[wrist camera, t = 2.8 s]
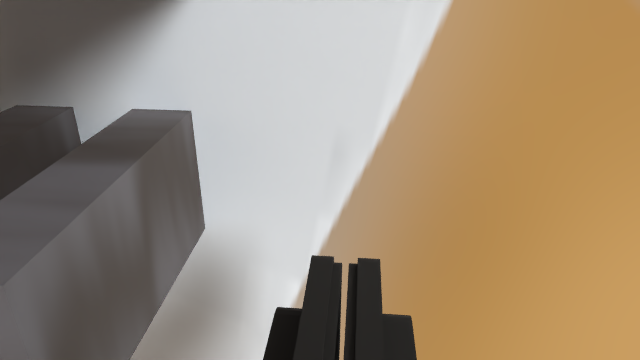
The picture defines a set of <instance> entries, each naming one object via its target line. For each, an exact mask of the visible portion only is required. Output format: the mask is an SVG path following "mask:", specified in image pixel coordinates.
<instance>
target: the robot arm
mask: <svg viewBox="0 0 640 360" xmlns="http://www.w3.org/2000/svg"><path fill="white" fill-rule="evenodd" d="M341 282H342V263H334V257H330V256H313V255H312V257H311V263H310V268H309V274H308V279H307V285H306V290H305V296H304V302H303V307H302V309H299V308H283V307H277V309H276V311H275V314H274V318H273V322H272V326H271V330H270V334H269V338H268V342H267V346H266V350H265V354H264V358H263V360H339V350H340V317H341V315H340V314H341V284H342V283H341ZM344 360H417V358H416V350H415V342H414V334H413V326H412V320H411V316H408V315H393V314H382V294H381V272H380V259H368V258H358V264H351V263H350V264H349V273H348V291H347V309H346V327H345V346H344Z"/></svg>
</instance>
